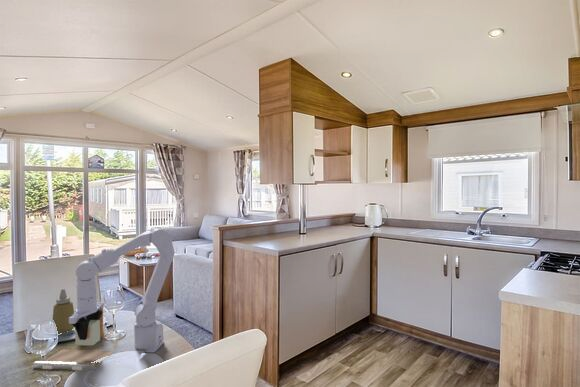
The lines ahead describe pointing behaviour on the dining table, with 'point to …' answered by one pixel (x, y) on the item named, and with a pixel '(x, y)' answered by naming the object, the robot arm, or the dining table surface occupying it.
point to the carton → (90, 334)
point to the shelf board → (73, 359)
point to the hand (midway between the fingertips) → (87, 336)
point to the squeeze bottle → (63, 313)
